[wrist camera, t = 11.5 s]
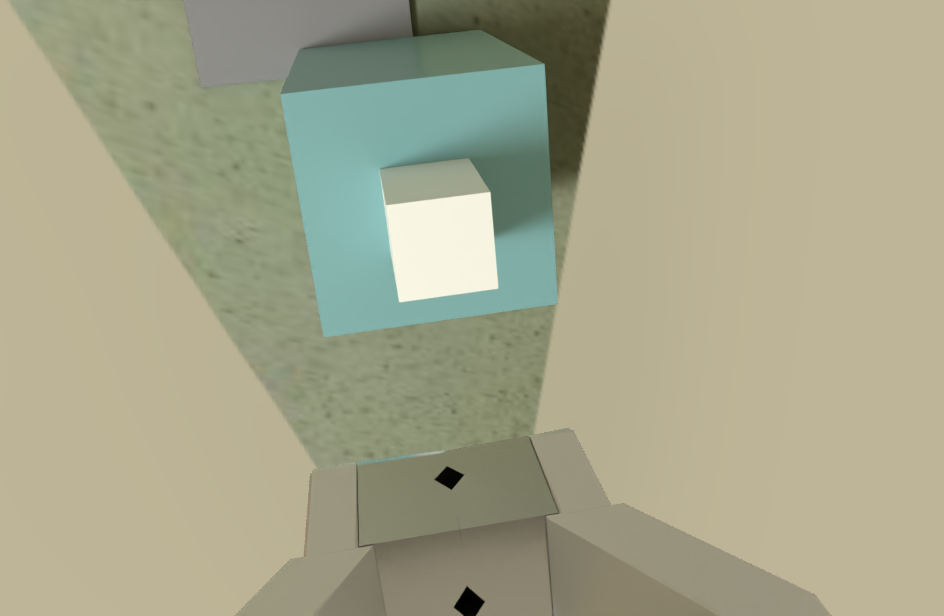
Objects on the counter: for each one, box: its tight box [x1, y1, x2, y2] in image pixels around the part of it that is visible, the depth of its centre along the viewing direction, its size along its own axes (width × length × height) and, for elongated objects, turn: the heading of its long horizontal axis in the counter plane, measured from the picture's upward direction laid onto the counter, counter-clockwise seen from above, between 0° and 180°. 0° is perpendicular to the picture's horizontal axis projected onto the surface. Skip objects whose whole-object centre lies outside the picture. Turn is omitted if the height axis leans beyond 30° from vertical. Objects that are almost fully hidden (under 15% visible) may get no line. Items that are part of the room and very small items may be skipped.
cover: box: [280, 30, 558, 337], centre depth 33 cm, size 8×8×18 cm
